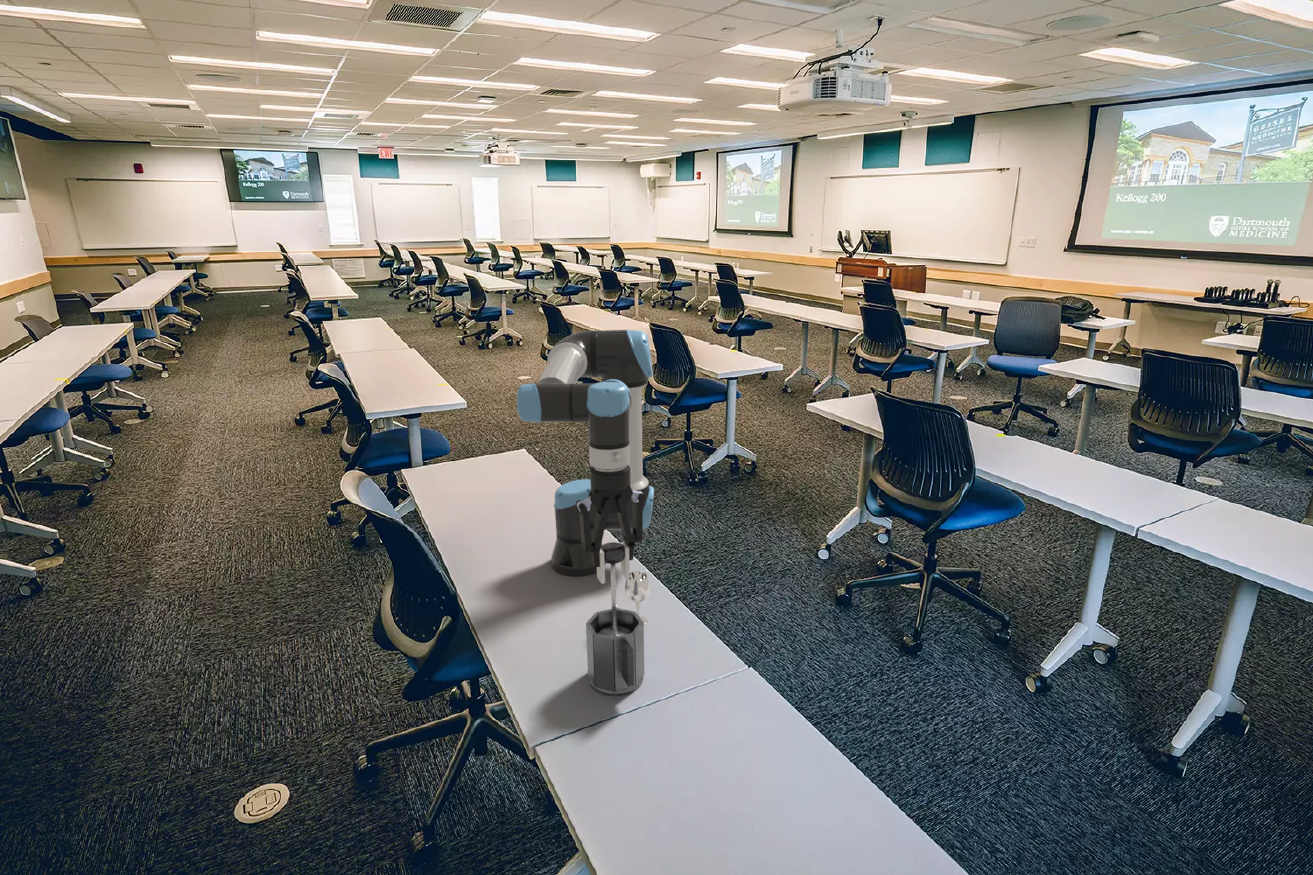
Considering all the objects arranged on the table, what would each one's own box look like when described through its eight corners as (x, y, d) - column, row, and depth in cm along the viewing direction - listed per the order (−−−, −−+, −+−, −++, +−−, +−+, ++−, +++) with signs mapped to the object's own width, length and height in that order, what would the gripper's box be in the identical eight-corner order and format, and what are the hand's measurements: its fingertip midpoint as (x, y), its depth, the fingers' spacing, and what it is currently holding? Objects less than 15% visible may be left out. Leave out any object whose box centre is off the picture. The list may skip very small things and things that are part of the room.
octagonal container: (582, 669, 145) (579, 615, 141) (631, 656, 149) (630, 603, 145) (604, 711, 132) (602, 652, 129) (657, 695, 137) (657, 639, 133)
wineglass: (638, 612, 166) (637, 567, 163) (655, 621, 162) (654, 575, 159) (620, 621, 162) (619, 576, 159) (637, 631, 159) (636, 584, 155)
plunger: (592, 634, 141) (589, 543, 135) (625, 626, 144) (623, 536, 138) (604, 653, 135) (600, 558, 129) (638, 644, 138) (636, 551, 132)
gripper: (570, 478, 122) (576, 595, 129) (660, 465, 128) (661, 577, 135) (559, 466, 128) (565, 577, 135) (645, 453, 135) (646, 561, 142)
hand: (613, 577), depth 135 cm, fingers closed on plunger, 4 cm apart
